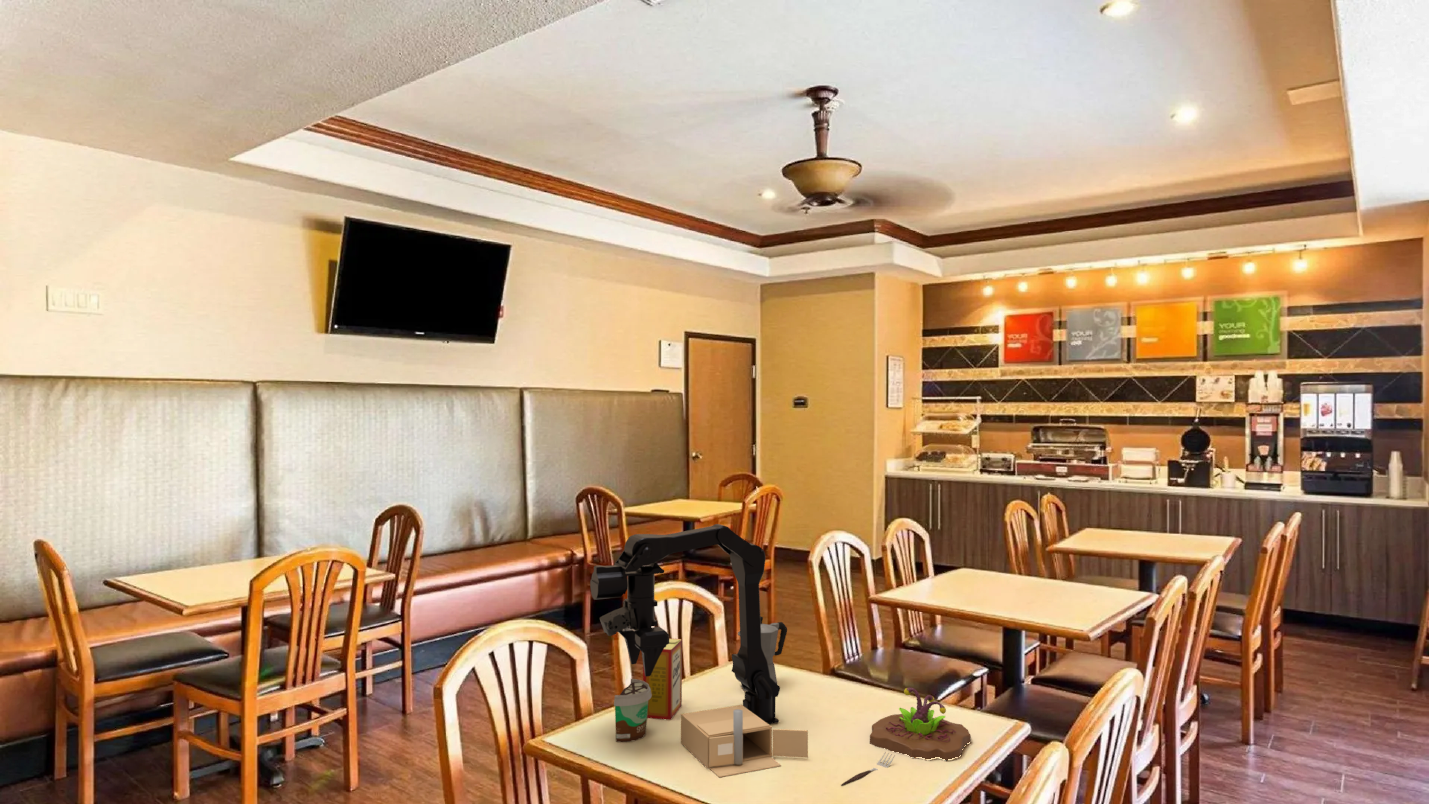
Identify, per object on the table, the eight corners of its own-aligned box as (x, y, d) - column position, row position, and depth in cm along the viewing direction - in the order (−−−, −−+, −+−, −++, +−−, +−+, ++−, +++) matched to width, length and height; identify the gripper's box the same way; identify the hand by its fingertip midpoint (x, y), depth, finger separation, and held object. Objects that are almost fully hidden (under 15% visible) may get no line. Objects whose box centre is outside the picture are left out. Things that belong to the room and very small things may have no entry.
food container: (642, 747, 173) (642, 698, 173) (613, 744, 174) (613, 696, 175) (658, 725, 185) (658, 679, 185) (631, 723, 186) (631, 677, 187)
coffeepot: (750, 698, 203) (750, 623, 203) (727, 688, 211) (727, 616, 211) (798, 687, 212) (798, 615, 212) (774, 677, 219) (774, 608, 220)
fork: (835, 786, 156) (835, 775, 156) (884, 761, 167) (884, 751, 167) (846, 790, 154) (846, 779, 154) (895, 765, 165) (895, 755, 165)
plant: (890, 718, 191) (890, 669, 191) (978, 735, 181) (977, 683, 181) (857, 748, 174) (857, 693, 174) (952, 769, 164) (952, 711, 164)
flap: (740, 760, 165) (741, 708, 165) (744, 763, 163) (744, 712, 164) (707, 764, 163) (708, 712, 163) (710, 768, 161) (710, 715, 161)
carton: (766, 728, 184) (766, 699, 184) (810, 760, 166) (810, 728, 167) (680, 742, 175) (681, 712, 175) (717, 778, 158) (717, 744, 158)
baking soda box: (670, 720, 189) (671, 648, 189) (642, 717, 190) (643, 646, 190) (681, 705, 198) (681, 637, 198) (655, 703, 199) (655, 635, 200)
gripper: (591, 590, 183) (591, 662, 182) (617, 608, 166) (616, 688, 165) (640, 586, 187) (640, 656, 187) (670, 603, 170) (670, 680, 170)
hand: (640, 669), depth 177 cm, fingers open, 9 cm apart
